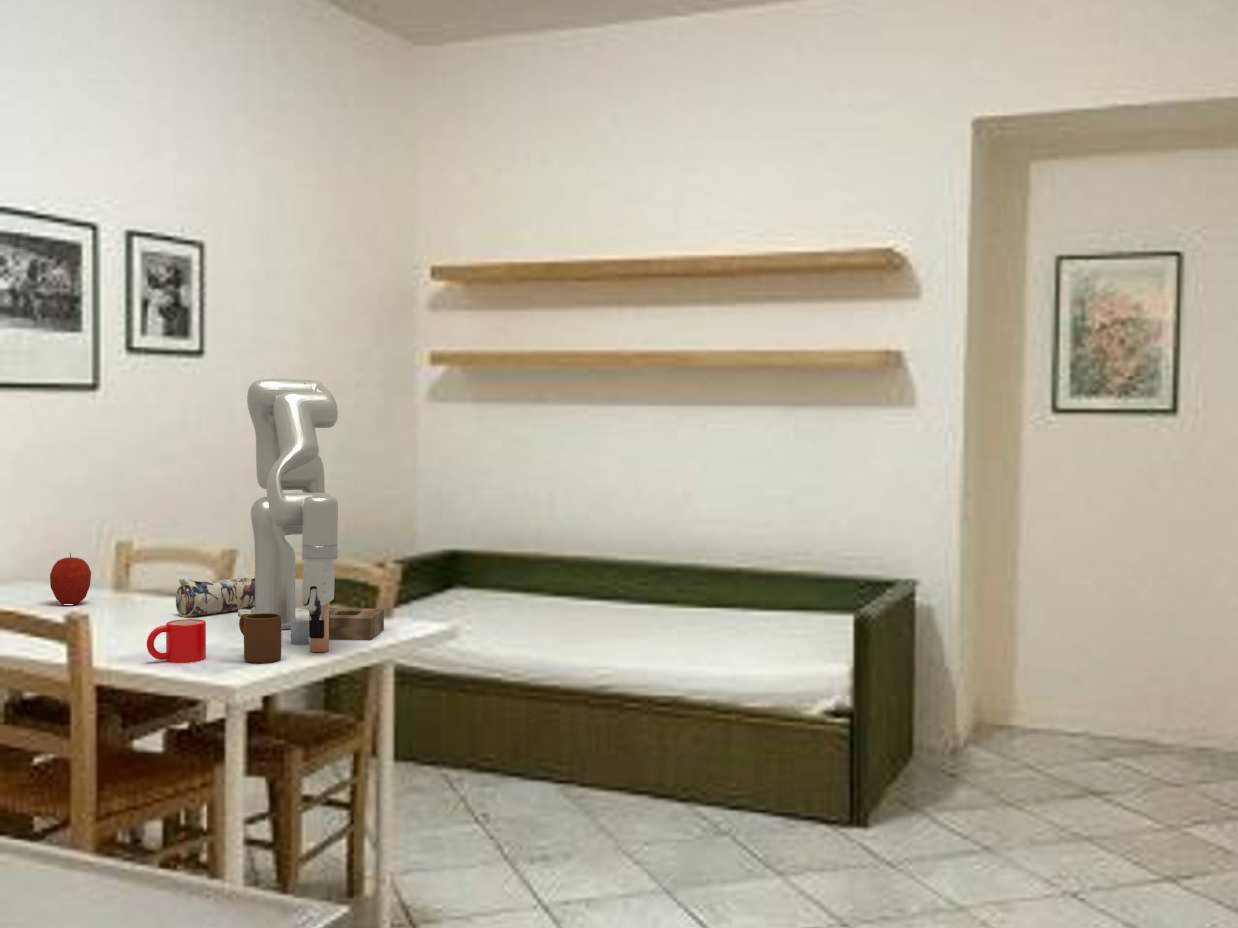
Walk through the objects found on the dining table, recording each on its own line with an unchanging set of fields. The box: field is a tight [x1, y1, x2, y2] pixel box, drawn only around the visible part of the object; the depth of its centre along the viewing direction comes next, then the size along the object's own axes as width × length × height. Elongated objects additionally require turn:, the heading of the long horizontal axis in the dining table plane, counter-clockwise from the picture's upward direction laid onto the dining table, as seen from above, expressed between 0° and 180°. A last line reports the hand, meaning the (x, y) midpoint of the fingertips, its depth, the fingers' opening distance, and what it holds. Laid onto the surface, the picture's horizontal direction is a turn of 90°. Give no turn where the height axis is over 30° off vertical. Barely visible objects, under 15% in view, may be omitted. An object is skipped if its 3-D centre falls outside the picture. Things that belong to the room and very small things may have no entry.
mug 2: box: [238, 613, 282, 664], centre depth 260 cm, size 12×8×9 cm, turn 49°
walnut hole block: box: [329, 607, 385, 641], centre depth 290 cm, size 14×14×5 cm
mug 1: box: [146, 618, 207, 664], centre depth 257 cm, size 8×12×8 cm, turn 130°
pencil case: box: [175, 573, 255, 618], centre depth 319 cm, size 22×8×10 cm, turn 141°
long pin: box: [309, 603, 330, 653], centre depth 269 cm, size 4×4×12 cm
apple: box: [49, 552, 92, 605], centre depth 328 cm, size 10×10×14 cm
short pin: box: [290, 619, 310, 646], centre depth 278 cm, size 4×4×5 cm
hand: (319, 635), depth 269 cm, fingers closed on long pin, 4 cm apart
